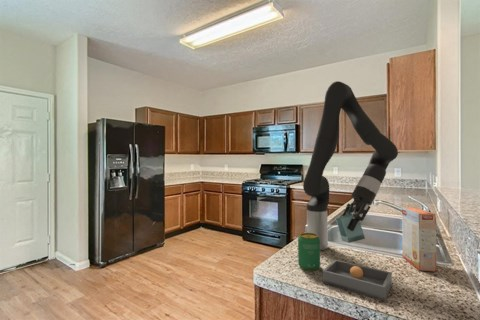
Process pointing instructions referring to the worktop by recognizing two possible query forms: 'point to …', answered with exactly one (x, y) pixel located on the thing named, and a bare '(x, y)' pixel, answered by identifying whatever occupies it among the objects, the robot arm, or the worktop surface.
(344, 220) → the teal open-sided box
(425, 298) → the worktop surface
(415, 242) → the cracker box
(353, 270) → the ball
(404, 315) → the worktop surface
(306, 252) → the beverage can
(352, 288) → the tray
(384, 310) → the worktop surface
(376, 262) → the worktop surface
